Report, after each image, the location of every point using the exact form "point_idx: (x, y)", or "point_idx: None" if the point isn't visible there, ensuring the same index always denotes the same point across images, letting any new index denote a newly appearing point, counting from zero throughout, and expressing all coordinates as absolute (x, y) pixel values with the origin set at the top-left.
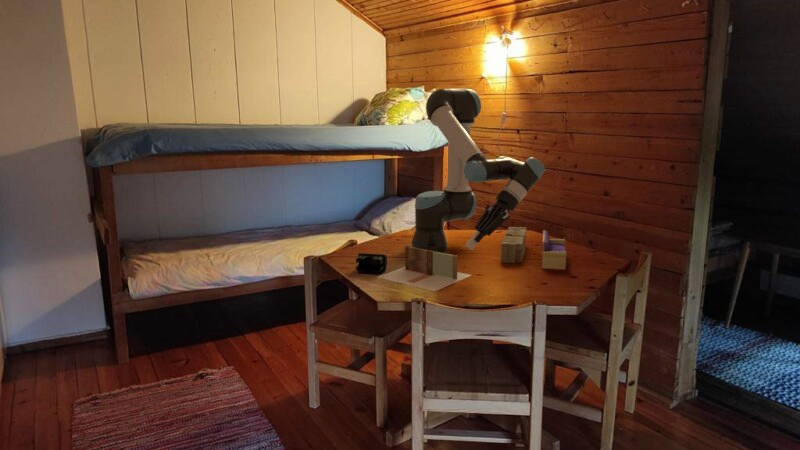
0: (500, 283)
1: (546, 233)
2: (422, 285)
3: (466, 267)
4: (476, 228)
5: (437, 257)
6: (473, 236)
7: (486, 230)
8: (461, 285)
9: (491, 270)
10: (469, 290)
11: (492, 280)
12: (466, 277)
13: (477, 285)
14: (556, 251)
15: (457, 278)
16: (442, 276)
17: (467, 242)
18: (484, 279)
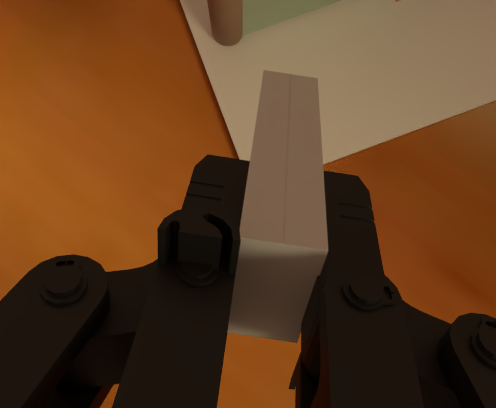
0: (25, 256)
1: None
2: None
3: (444, 287)
4: (449, 331)
5: None
6: (282, 158)
7: (19, 294)
8: (130, 20)
9: (292, 396)
10: (25, 5)
11: (104, 252)
12: (228, 128)
13: (75, 104)
14: None
15: (240, 63)
16: (330, 7)
17: (307, 96)
18: (150, 220)
